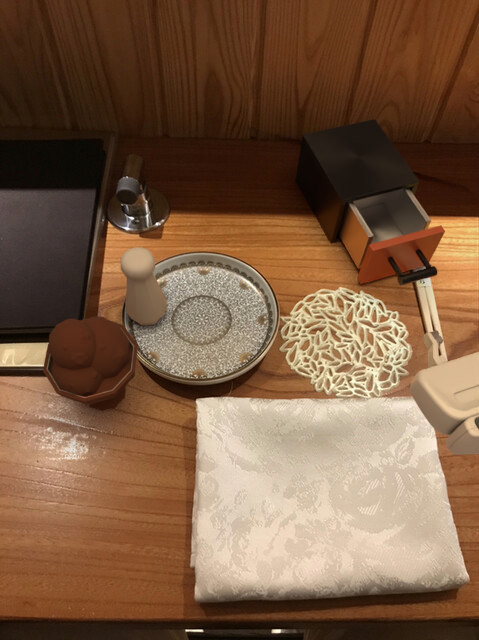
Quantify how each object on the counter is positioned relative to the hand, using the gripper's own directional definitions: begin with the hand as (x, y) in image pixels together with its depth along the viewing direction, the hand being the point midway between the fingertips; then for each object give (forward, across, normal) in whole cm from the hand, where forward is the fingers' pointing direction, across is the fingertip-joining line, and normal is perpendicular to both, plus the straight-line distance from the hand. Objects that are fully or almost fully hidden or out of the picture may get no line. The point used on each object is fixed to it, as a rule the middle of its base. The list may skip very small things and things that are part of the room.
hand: (461, 323), depth 71 cm
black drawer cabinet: (+30, 0, +8) cm, 31 cm away
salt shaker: (+19, +37, +8) cm, 42 cm away
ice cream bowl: (+9, +45, +8) cm, 47 cm away
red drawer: (+18, 0, +7) cm, 20 cm away
